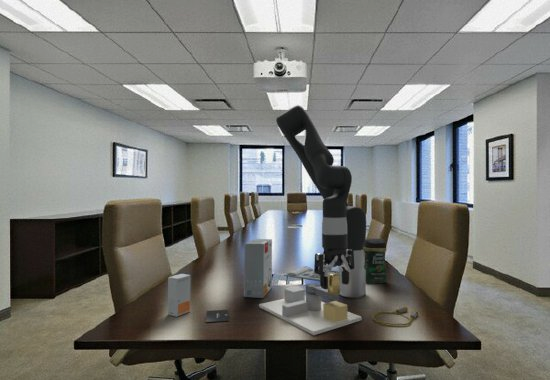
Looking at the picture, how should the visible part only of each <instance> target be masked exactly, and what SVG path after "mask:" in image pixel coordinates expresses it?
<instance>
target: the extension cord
mask: <svg viewBox="0 0 550 380" xmlns="http://www.w3.org/2000/svg"><path fill="white" fill-rule="evenodd" d="M406 312H408V307H407V306H399V307H397V309H395V311H378V312H376V313H374V314H373V315H372V319H373V322H375V323H376V324H379V325H382V326H387V327H393V328H394V327H396V328H397V327H401V328H403V327H409V326H411V325H412V324H413V320H414V319H416V318H417V316H418V315H419V312H418V311H416V310H411V312H410V318H409V317H407V316H406V315H404V314H402V313H406ZM381 314H392V315H393V314H394V315H399V316H401V317H404V318H405V319H407V320H409V322H406V323H390V322H384V321H381V320H380V321H379V320H377V319H375V317H376V316H379V315H381Z"/></svg>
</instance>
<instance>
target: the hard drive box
mask: <svg viewBox="0 0 550 380" xmlns="http://www.w3.org/2000/svg"><path fill="white" fill-rule="evenodd" d="M243 246H244V252H243V253H244V255H243V257H244V259H243V261H244V262H243V263H244V265H243V297H244V298H256V299H257V298H258V299H263V298H265V296H266V295H267V294H268V293H269V291H271V289H272V287H273V282H272V281H273V261H272V260H273V239H267V238H254V239H252V240H250V241H248V242H245V243H244V245H243Z"/></svg>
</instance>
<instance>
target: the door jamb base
mask: <svg viewBox="0 0 550 380" xmlns="http://www.w3.org/2000/svg"><path fill="white" fill-rule="evenodd" d="M258 307H259V308H260V309H262V310H264V311H266V312H268V313H270V314H272V315H273V316H276V317H278V318H279V319H282V320H283V321H285V322H287V323H289V324H291V325H293V326H295V327H296V328H299V329H301V330H302V331H304V332H306V333H308V334H310V335H312V336H316V335H318V334H322V333H326V332H328V331H332V330H334V329H335V330H336V329H338V328H341V327H345V326H348V325H350V324H353V323H357V322H360V321H362V318H363V317H362V316H361V315H359V314H355V313H353V312H350V311H348V304H346V303H342V302H339V300H336V301H329V302H324V301H322V297H321V296H319V295H316V294H310V293H307V292H306V289H305V288H301V287H298V286H291V287H286V288H284V298H282V299H281V298H280V299H277V300H276V299H275V300H272V301H267V302H263V303H259V304H258Z"/></svg>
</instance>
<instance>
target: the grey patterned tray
mask: <svg viewBox="0 0 550 380" xmlns="http://www.w3.org/2000/svg"><path fill="white" fill-rule="evenodd" d="M318 270H319V268H318ZM325 270H326V269H325ZM336 272H337V274H339V270H337V269H336V270H335V269H332V270H330V272H329V273H336ZM329 273H328V274H329ZM284 277H288V278H289V277H291V278H295V279H296V278H297V279H303V280H309V281H317V282H320V275H318V274H315V273H314V268H312V267H310V266H303V267H300V268H297V269H295V270H293V271H289V272H287V273H284Z"/></svg>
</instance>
